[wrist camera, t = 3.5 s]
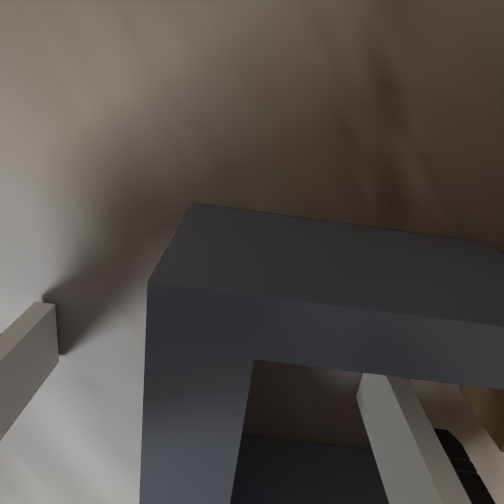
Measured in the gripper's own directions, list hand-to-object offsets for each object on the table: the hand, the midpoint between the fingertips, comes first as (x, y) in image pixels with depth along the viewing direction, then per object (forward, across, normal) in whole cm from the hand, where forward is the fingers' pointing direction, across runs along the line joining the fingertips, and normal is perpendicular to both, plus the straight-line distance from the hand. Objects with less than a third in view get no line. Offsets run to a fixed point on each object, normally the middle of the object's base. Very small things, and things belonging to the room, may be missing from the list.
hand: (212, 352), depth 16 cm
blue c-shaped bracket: (0, +4, 0) cm, 4 cm away
